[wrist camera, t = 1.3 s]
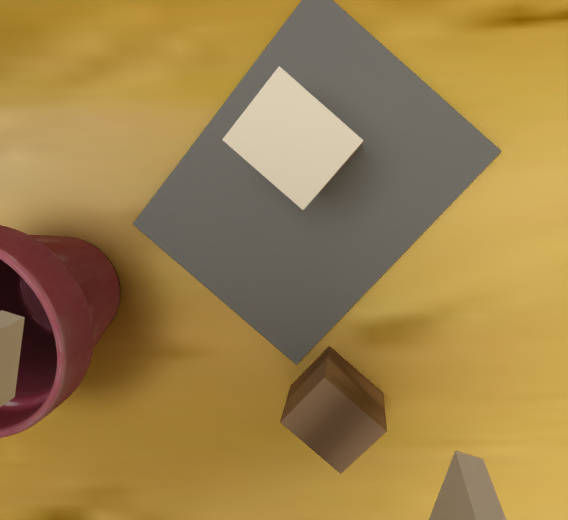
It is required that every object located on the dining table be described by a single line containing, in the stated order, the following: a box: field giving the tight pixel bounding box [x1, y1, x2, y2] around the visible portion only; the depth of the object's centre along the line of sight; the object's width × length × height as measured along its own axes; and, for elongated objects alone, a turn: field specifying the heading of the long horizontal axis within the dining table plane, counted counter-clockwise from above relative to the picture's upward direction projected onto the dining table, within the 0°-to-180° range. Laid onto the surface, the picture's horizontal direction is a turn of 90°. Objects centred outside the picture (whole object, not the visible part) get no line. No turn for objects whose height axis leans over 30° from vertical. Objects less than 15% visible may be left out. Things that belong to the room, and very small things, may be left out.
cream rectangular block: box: [222, 66, 364, 210], centre depth 33 cm, size 6×5×11 cm
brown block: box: [280, 346, 387, 474], centre depth 40 cm, size 6×5×6 cm
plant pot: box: [0, 225, 120, 438], centre depth 38 cm, size 14×14×13 cm
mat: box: [133, 0, 501, 365], centre depth 39 cm, size 18×23×1 cm
